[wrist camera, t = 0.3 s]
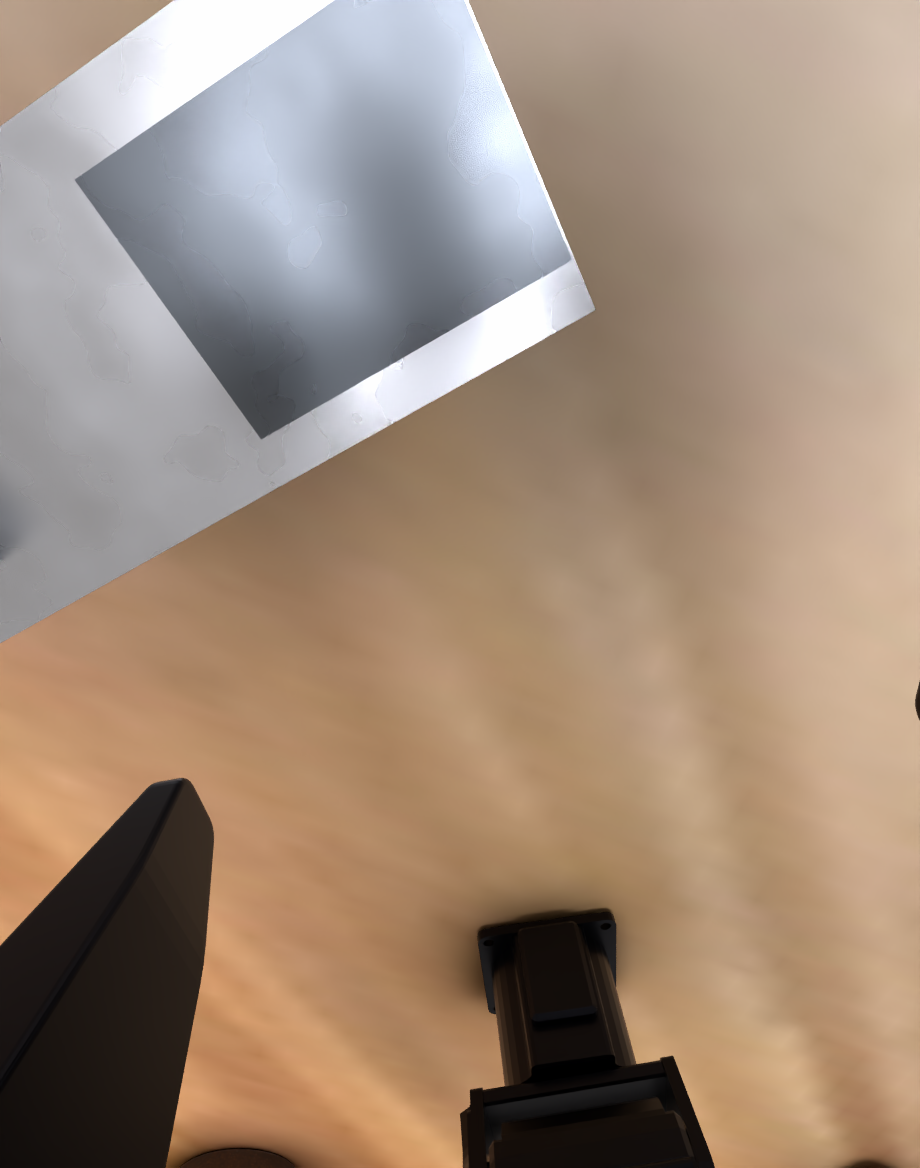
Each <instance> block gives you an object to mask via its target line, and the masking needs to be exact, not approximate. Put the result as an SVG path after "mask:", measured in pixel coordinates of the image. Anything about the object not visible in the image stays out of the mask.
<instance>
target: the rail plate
mask: <svg viewBox="0 0 920 1168" xmlns="http://www.w3.org/2000/svg"><path fill="white" fill-rule="evenodd" d="M594 310H596V309H595V307H594V304H593V302H592V300H591V297H590V295H589V292H588V290H587V287H586V285H585V283H584V280H583V278H582V275H581V273H580V271H579V268H578V266H577V263H576V261H575V258H574V256H573V254H572V251H571V249H570V246H569V244H568V241H567V239H566V237H565V234H564V232H563V229H562V227H561V225H560V222H559V220H558V217H557V215H556V212H555V210H554V208H553V205H552V203H551V200H550V198H549V195H548V193H547V191H546V188H545V186H544V183H543V181H542V179H541V176H540V174H539V171H538V169H537V166H536V164H535V162H534V159H533V157H532V154H531V152H530V149H529V147H528V145H527V142H526V140H525V137H524V135H523V133H522V130H521V128H520V125H519V123H518V120H517V118H516V116H515V113H514V111H513V108H512V106H511V103H510V101H509V99H508V96H507V94H506V91H505V89H504V87H503V84H502V82H501V79H500V77H499V74H498V72H497V70H496V67H495V65H494V62H493V60H492V57H491V55H490V53H489V50H488V48H487V45H486V43H485V41H484V38H483V36H482V33H481V31H480V28H479V26H478V24H477V21H476V19H475V16H474V14H473V11H472V9H471V7H470V4H469V2H468V0H174V1H172V2H171V3H170V4H168V5H167V6H166V7H164V8H163V9H161V10H160V11H159V12H157V13H156V14H155V15H153V16H152V17H150V18H149V19H148V20H146V21H145V22H144V23H142V24H141V25H139V26H138V27H137V28H135V29H134V30H132V31H131V32H130V33H128V34H127V35H126V36H124V37H123V38H121V39H120V40H119V41H117V42H116V43H115V44H113V45H112V46H110V47H109V48H108V49H106V50H105V51H104V52H102V53H101V54H99V55H98V56H97V57H95V58H94V59H93V60H91V61H90V62H88V63H87V64H86V65H84V66H83V67H81V68H80V69H79V70H77V71H76V72H75V73H73V74H72V75H70V76H69V77H68V78H66V79H65V80H64V81H62V82H61V83H59V84H58V85H57V86H55V87H54V88H53V89H51V90H50V91H48V92H47V93H46V94H44V95H43V96H42V97H40V98H39V99H37V100H36V101H35V102H33V103H32V104H30V105H29V106H28V107H26V108H25V109H24V110H22V111H21V112H19V113H18V114H17V115H15V116H14V117H13V118H11V119H10V120H8V121H7V122H6V123H4V124H3V125H2V126H0V643H1V642H3V641H5V640H7V639H8V638H10V637H12V636H14V635H16V634H17V633H19V632H21V631H23V630H25V629H26V628H28V627H30V626H32V625H33V624H35V623H37V622H39V621H41V620H42V619H44V618H46V617H48V616H50V615H51V614H53V613H55V612H57V611H58V610H60V609H62V608H64V607H66V606H67V605H69V604H71V603H73V602H75V601H76V600H78V599H80V598H82V597H84V596H85V595H87V594H89V593H91V592H92V591H94V590H96V589H98V588H100V587H101V586H103V585H105V584H107V583H109V582H110V581H112V580H114V579H116V578H117V577H119V576H121V575H123V574H125V573H126V572H128V571H130V570H132V569H134V568H135V567H137V566H139V565H141V564H142V563H144V562H146V561H148V560H150V559H151V558H153V557H155V556H157V555H159V554H160V553H162V552H164V551H166V550H167V549H169V548H171V547H173V546H175V545H176V544H178V543H180V542H182V541H184V540H185V539H187V538H189V537H191V536H192V535H194V534H196V533H198V532H200V531H201V530H203V529H205V528H207V527H209V526H210V525H212V524H214V523H216V522H218V521H219V520H221V519H223V518H225V517H226V516H228V515H230V514H232V513H234V512H235V511H237V510H239V509H241V508H243V507H244V506H246V505H248V504H250V503H251V502H253V501H255V500H257V499H259V498H260V497H262V496H264V495H266V494H268V493H269V492H271V491H273V490H275V489H276V488H278V487H280V486H282V485H284V484H285V483H287V482H289V481H291V480H293V479H294V478H296V477H298V476H300V475H301V474H303V473H305V472H307V471H309V470H310V469H312V468H314V467H316V466H318V465H319V464H321V463H323V462H325V461H326V460H328V459H330V458H332V457H334V456H335V455H337V454H339V453H341V452H343V451H344V450H346V449H348V448H350V447H352V446H353V445H355V444H357V443H359V442H360V441H362V440H364V439H366V438H368V437H369V436H371V435H373V434H375V433H377V432H378V431H380V430H382V429H384V428H385V427H387V426H389V425H391V424H393V423H394V422H396V421H398V420H400V419H402V418H403V417H405V416H407V415H409V414H410V413H412V412H414V411H416V410H418V409H419V408H421V407H423V406H425V405H427V404H428V403H430V402H432V401H434V400H435V399H437V398H439V397H441V396H443V395H444V394H446V393H448V392H450V391H452V390H453V389H455V388H457V387H459V386H460V385H462V384H464V383H466V382H468V381H469V380H471V379H473V378H475V377H477V376H478V375H480V374H482V373H484V372H486V371H487V370H489V369H491V368H493V367H494V366H496V365H498V364H500V363H502V362H503V361H505V360H507V359H509V358H511V357H512V356H514V355H516V354H518V353H519V352H521V351H523V350H525V349H527V348H528V347H530V346H532V345H534V344H536V343H537V342H539V341H541V340H543V339H544V338H546V337H548V336H550V335H552V334H553V333H555V332H557V331H559V330H561V329H562V328H564V327H566V326H568V325H569V324H571V323H573V322H575V321H577V320H578V319H580V318H582V317H584V316H586V315H587V314H589V313H591V312H593V311H594Z"/></svg>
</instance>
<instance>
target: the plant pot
mask: <svg viewBox="0 0 920 1168" xmlns="http://www.w3.org/2000/svg"><path fill="white" fill-rule="evenodd" d="M180 1168H294V1166H293V1165H292V1164H291V1163H290V1162H289V1161H288V1160H286V1159H284V1158H283V1157H281V1156H278V1155H276V1154H273V1153H269V1152H265V1151H260V1150H252V1149H229V1150H220V1151H215V1152H211V1153H207V1154H203V1155H201V1156H198V1157H195V1158H193V1159H191V1160H190V1161H188V1162H186V1163H185V1164H183V1165H182V1166H181V1167H180Z"/></svg>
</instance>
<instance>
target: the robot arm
mask: <svg viewBox="0 0 920 1168" xmlns="http://www.w3.org/2000/svg"><path fill="white" fill-rule="evenodd" d="M915 707H916V712H917V715H918V718H919V720H920V682H919V686H918V690H917V694H916V699H915ZM213 847H214V831H213V826H212V822H211V820H210V818H209V816H208V814H207V812H206V810H205V808H204V806H203V804H202V802H201V800H200V798H199V796H198V794H197V792H196V790H195V788H194V786H193V785H192V783H191V782H190V781H189V780H188V779H185V778H178V779H172V780H167V781H161V782H156V783H154V784H152V785H150V786H149V787H148V788H147V789H146V790H145V791H144V792H143V793H142V794H141V795H140V796H139V797H138V799H137V800H136V801H135V802H134V803H133V804H132V805H131V806H130V807H129V808H128V809H127V810H126V811H125V812H124V814H123V815H122V816H121V817H120V818H119V819H118V820H117V821H116V822H115V823H114V824H113V825H112V826H111V828H110V829H109V830H108V831H107V832H106V833H105V834H104V835H103V836H102V837H101V838H100V839H99V840H98V841H97V843H96V844H95V845H94V846H93V847H92V848H91V849H90V850H89V851H88V852H87V853H86V854H85V855H84V856H83V858H82V859H81V860H80V861H79V862H78V863H77V864H76V865H75V866H74V867H73V868H72V869H71V870H70V871H69V873H68V874H67V875H66V876H65V877H64V878H63V879H62V880H61V881H60V882H59V883H58V884H57V885H56V886H55V888H54V889H53V890H52V891H51V892H50V893H49V894H48V895H47V896H46V897H45V898H44V899H43V900H42V901H41V903H40V904H39V905H38V906H37V907H36V908H35V909H34V910H33V911H32V912H31V913H30V914H29V915H28V916H27V918H26V919H25V920H24V921H23V922H22V923H21V924H20V925H19V926H18V927H17V928H16V929H15V930H14V932H13V933H12V934H11V935H10V936H9V937H8V938H7V939H6V940H5V941H4V942H3V943H2V944H1V945H0V1168H166V1162H167V1157H168V1152H169V1147H170V1141H171V1136H172V1131H173V1126H174V1120H175V1115H176V1110H177V1104H178V1099H179V1094H180V1089H181V1083H182V1078H183V1073H184V1068H185V1062H186V1057H187V1052H188V1047H189V1041H190V1036H191V1031H192V1025H193V1020H194V1015H195V1010H196V1004H197V999H198V994H199V989H200V983H201V977H202V971H203V965H204V956H205V946H206V935H207V922H208V910H209V897H210V884H211V872H212V859H213ZM477 938H478V946H479V953H480V959H481V965H482V972H483V978H484V984H485V991H486V997H487V1003H488V1010H489V1012H491V1013H492V1014H496V1017H497V1025H498V1033H499V1041H500V1050H501V1058H502V1066H503V1074H504V1083H505V1086H504V1087H498V1088H492V1089H486V1090H483V1088H477V1089H471V1090H470V1104H471V1105H470V1107H469V1108H467V1109H466V1110H465V1111H463V1112H462V1113H461V1114H460V1119H461V1133H462V1148H463V1168H715V1166H714V1163H713V1160H712V1157H711V1154H710V1152H709V1149H708V1146H707V1143H706V1141H705V1138H704V1136H703V1133H702V1130H701V1128H700V1125H699V1122H698V1120H697V1117H696V1115H695V1112H694V1109H693V1107H692V1104H691V1101H690V1099H689V1096H688V1094H687V1091H686V1088H685V1086H684V1083H683V1080H682V1078H681V1075H680V1073H679V1070H678V1067H677V1065H676V1062H675V1059H674V1057H673V1056H668V1057H662V1058H660V1060H659V1061H653V1062H647V1063H641V1064H636V1061H635V1057H634V1053H633V1049H632V1046H631V1042H630V1038H629V1035H628V1031H627V1027H626V1023H625V1020H624V1016H623V1012H622V1009H621V1005H620V1001H619V997H618V994H617V990H616V922H615V919H614V916H613V914H612V913H609V912H601V913H594V914H587V915H580V916H572V917H565V918H558V919H551V920H544V921H537V922H530V923H523V924H516V925H509V926H501V927H494V928H487V929H483V930H481V931H480V932H479V933H478V936H477Z"/></svg>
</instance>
